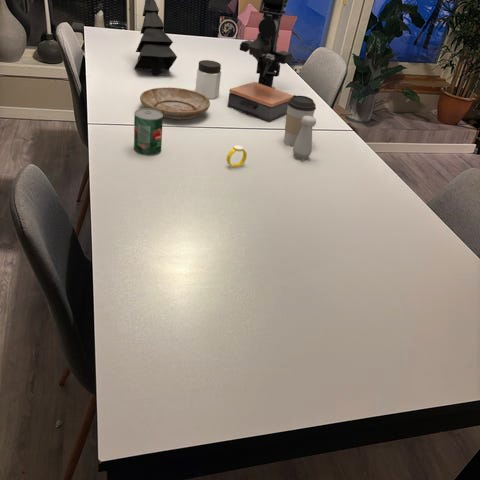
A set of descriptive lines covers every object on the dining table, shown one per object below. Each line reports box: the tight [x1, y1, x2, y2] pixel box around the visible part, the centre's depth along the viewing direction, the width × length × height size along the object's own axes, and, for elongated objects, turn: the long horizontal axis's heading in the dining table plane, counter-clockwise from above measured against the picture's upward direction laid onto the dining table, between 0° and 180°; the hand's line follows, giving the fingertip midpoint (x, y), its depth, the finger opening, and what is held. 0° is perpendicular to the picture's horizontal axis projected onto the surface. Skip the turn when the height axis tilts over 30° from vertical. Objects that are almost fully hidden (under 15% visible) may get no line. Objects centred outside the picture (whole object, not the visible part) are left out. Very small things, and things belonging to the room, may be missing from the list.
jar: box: [194, 59, 222, 100], centre depth 187 cm, size 9×8×12 cm
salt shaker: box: [292, 116, 317, 161], centre depth 152 cm, size 6×6×13 cm
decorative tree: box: [133, 0, 178, 76], centre depth 201 cm, size 15×15×35 cm
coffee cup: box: [283, 94, 317, 148], centre depth 160 cm, size 9×9×15 cm
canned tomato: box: [133, 107, 164, 157], centre depth 143 cm, size 8×8×11 cm
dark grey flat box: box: [227, 92, 289, 123], centre depth 184 cm, size 18×18×5 cm
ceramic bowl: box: [139, 86, 211, 120], centre depth 171 cm, size 23×24×5 cm
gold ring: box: [226, 144, 248, 168], centre depth 143 cm, size 6×3×6 cm, turn 123°
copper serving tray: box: [228, 81, 293, 107], centre depth 182 cm, size 16×18×1 cm
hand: (262, 76), depth 180 cm, fingers closed
